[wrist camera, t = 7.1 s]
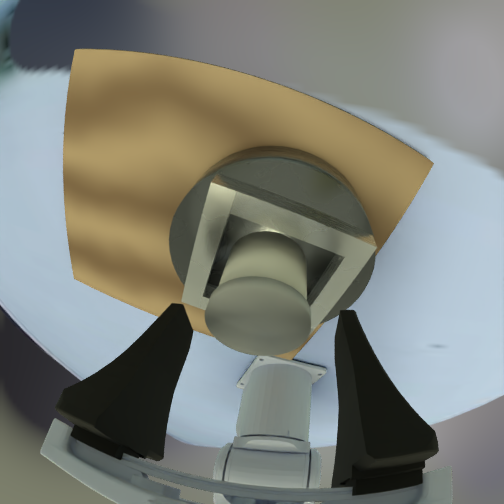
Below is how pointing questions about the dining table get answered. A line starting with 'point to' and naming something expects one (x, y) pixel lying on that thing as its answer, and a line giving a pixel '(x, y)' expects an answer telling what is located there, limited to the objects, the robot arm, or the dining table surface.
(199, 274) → the grey round socket base
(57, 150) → the dining table surface
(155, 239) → the board
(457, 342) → the dining table surface
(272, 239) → the flanged cap
